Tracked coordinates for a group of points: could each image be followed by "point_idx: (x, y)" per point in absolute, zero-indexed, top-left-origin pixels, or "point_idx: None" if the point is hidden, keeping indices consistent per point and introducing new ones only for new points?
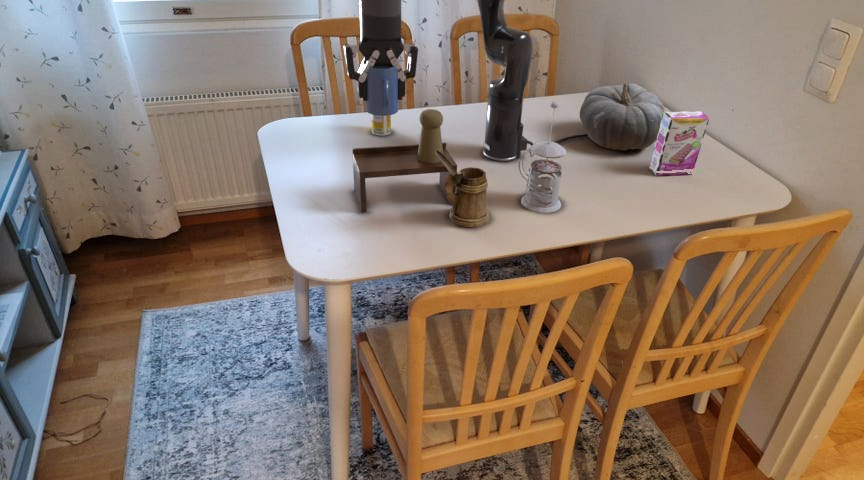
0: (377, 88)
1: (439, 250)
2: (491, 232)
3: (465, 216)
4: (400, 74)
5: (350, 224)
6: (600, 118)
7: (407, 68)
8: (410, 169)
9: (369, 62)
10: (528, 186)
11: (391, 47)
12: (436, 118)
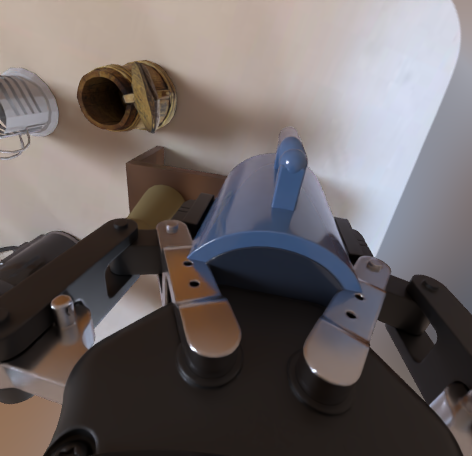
0: (313, 199)
1: (223, 2)
2: (123, 34)
3: (153, 70)
4: (178, 239)
5: (325, 141)
6: None
7: (129, 278)
8: (210, 176)
9: (365, 314)
10: (26, 110)
11: (179, 386)
12: None
